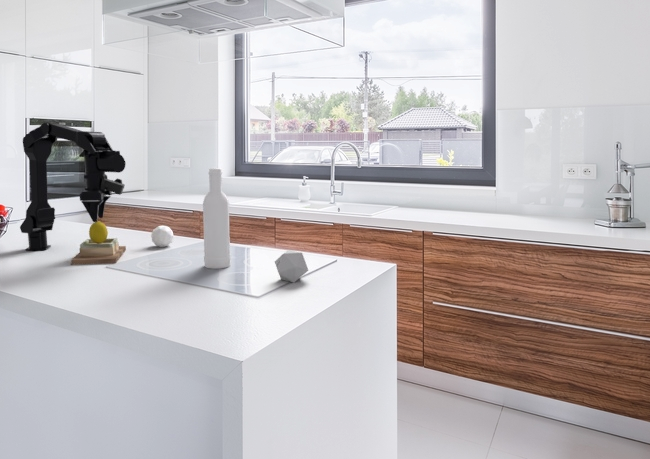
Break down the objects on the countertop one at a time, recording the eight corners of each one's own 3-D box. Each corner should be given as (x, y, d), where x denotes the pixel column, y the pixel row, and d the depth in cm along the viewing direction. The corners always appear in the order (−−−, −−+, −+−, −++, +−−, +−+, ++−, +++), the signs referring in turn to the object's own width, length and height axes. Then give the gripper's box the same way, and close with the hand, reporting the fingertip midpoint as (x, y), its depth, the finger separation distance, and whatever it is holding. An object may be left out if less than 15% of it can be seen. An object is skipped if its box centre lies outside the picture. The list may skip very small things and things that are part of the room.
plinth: (86, 251, 179) (85, 236, 178) (125, 250, 182) (125, 235, 181) (71, 264, 160) (69, 248, 159) (115, 263, 163) (115, 246, 162)
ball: (164, 254, 188) (160, 240, 182) (149, 244, 191) (144, 230, 185) (179, 242, 192) (176, 227, 187) (164, 232, 195) (160, 217, 190)
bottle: (230, 268, 157) (228, 169, 152) (203, 269, 156) (200, 168, 151) (230, 262, 165) (228, 167, 160) (205, 263, 164) (202, 167, 159)
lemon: (101, 247, 167) (100, 222, 166) (86, 246, 168) (84, 221, 167) (111, 243, 173) (110, 219, 171) (96, 243, 174) (95, 219, 172)
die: (282, 276, 151) (266, 253, 146) (309, 261, 151) (294, 237, 146) (288, 294, 144) (271, 270, 139) (316, 279, 144) (301, 254, 139)
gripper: (116, 173, 159) (119, 223, 162) (126, 170, 177) (128, 215, 180) (77, 173, 157) (81, 224, 159) (91, 170, 175) (94, 216, 177)
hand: (98, 219), depth 169 cm, fingers open, 9 cm apart
